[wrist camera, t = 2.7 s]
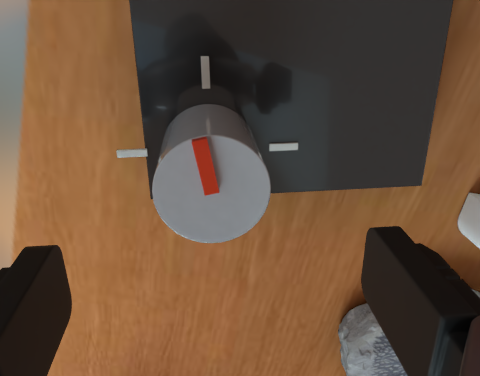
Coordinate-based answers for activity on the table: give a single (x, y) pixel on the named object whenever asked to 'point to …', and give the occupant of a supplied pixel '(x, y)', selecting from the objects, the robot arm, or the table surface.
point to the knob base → (299, 82)
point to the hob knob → (210, 176)
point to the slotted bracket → (471, 219)
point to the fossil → (367, 345)
